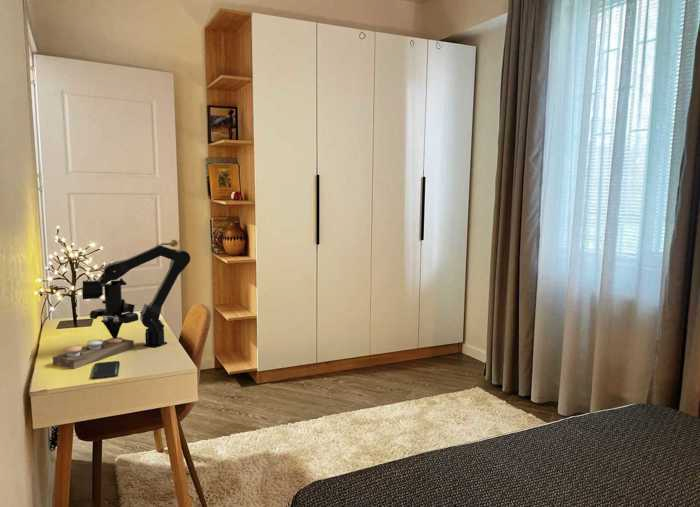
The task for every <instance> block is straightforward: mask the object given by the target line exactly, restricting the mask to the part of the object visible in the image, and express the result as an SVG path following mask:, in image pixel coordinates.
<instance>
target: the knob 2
mask: <svg viewBox="0 0 700 507" xmlns="http://www.w3.org/2000/svg"><path fill="white" fill-rule="evenodd" d="M123 339H124V338H123V337H120V336H119V337H118V336H117V338H115V339H114V338H113V337H110V338H109V337H108V340H107V339H106V340H107V341H108V343H110V344H117V343H121V342H122V341H123Z"/></svg>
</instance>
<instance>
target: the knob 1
mask: <svg viewBox="0 0 700 507" xmlns="http://www.w3.org/2000/svg"><path fill="white" fill-rule="evenodd" d="M82 347H83V346H81V345H71V346H67V347H65V348H64V353H67V357H71V358H73V357H76V356H79V355H80V351H81V350H82Z"/></svg>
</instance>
